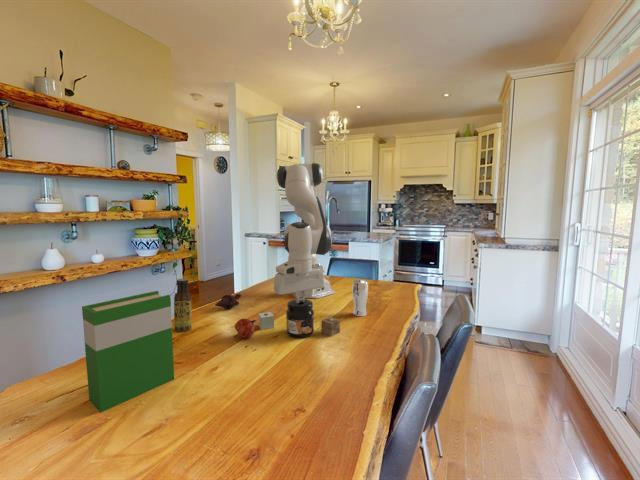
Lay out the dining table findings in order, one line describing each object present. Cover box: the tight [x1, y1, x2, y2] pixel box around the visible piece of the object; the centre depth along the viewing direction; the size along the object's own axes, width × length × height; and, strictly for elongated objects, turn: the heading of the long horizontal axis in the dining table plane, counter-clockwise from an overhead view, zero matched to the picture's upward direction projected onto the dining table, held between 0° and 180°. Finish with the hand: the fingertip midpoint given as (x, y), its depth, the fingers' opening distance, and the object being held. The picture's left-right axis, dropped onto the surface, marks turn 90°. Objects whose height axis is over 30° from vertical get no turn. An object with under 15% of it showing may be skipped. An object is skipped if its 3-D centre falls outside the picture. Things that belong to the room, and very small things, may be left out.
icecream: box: [214, 293, 242, 311], centre depth 146 cm, size 7×7×15 cm
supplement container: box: [285, 298, 315, 339], centre depth 118 cm, size 10×10×12 cm
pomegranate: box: [233, 318, 257, 340], centre depth 114 cm, size 7×7×10 cm
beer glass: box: [351, 279, 369, 318], centre depth 139 cm, size 7×7×15 cm
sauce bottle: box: [173, 278, 192, 333], centre depth 120 cm, size 6×6×20 cm
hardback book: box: [81, 290, 175, 413], centre depth 81 cm, size 18×7×24 cm, turn 143°
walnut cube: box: [321, 316, 341, 337], centre depth 119 cm, size 5×5×5 cm
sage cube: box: [257, 311, 275, 331], centre depth 125 cm, size 5×5×5 cm
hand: (300, 302), depth 118 cm, fingers closed
